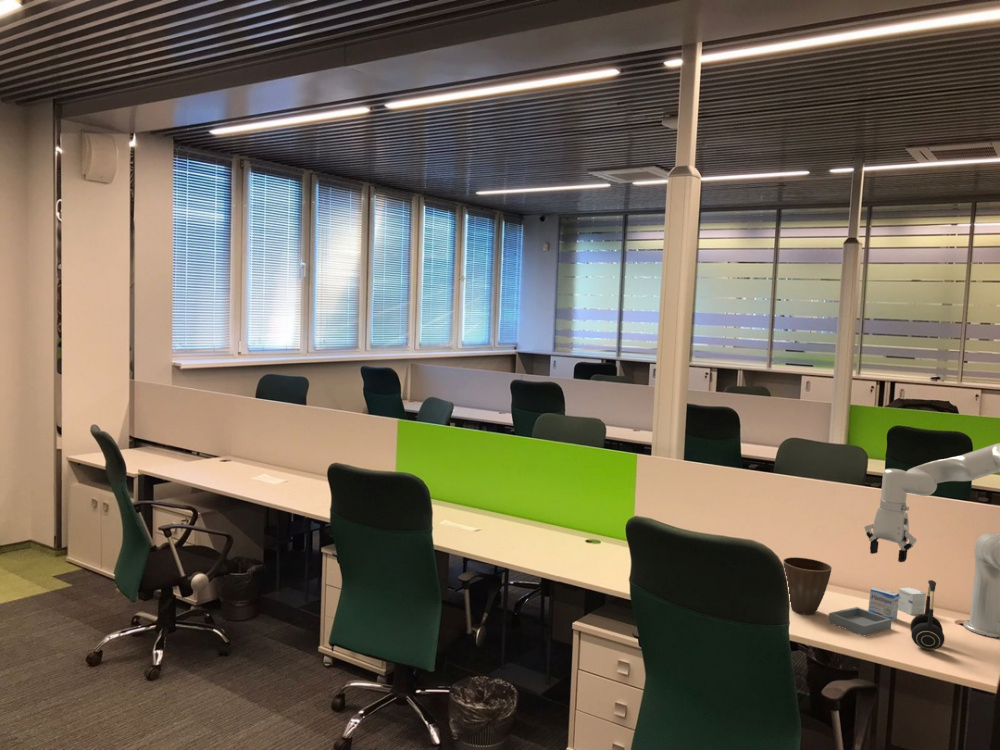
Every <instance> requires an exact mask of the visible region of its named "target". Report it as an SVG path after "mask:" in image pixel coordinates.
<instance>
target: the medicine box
mask: <svg viewBox="0 0 1000 750" xmlns="http://www.w3.org/2000/svg"><path fill="white" fill-rule="evenodd" d="M898 593H899V592H894V591H890V590H887V589H883V588H880V587H879V588H878V587H875V586H874V587H872V588H871V589H870V590H869V601H868V608H867V609H868V610H867V611H870V612H872V613H875V614H878V615H881V616H883V617H886V618H889V619H891V620H892V622H893V621H895V620H896V619H897V618H898V611H899V609H898V602H899V594H898Z"/></svg>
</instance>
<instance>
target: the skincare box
mask: <svg viewBox="0 0 1000 750" xmlns="http://www.w3.org/2000/svg"><path fill="white" fill-rule="evenodd" d="M897 593H898V594H899V602H898V611H901V612H903V613H906V614H908V615H909V616H914V615H916V616H918V615H921V614H925V607H926V599H927V593H926V592H923V591H921V590H919V589H916V588H913V587H900V588H899V589H898V592H897Z"/></svg>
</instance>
